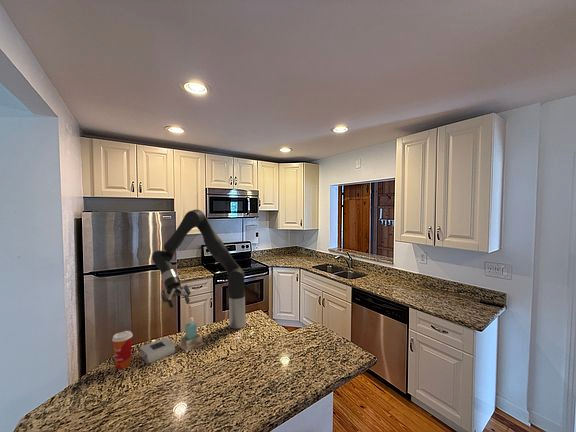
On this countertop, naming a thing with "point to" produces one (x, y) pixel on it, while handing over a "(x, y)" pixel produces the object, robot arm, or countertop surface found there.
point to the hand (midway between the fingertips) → (180, 305)
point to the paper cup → (122, 349)
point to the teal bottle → (190, 329)
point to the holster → (190, 343)
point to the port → (156, 350)
